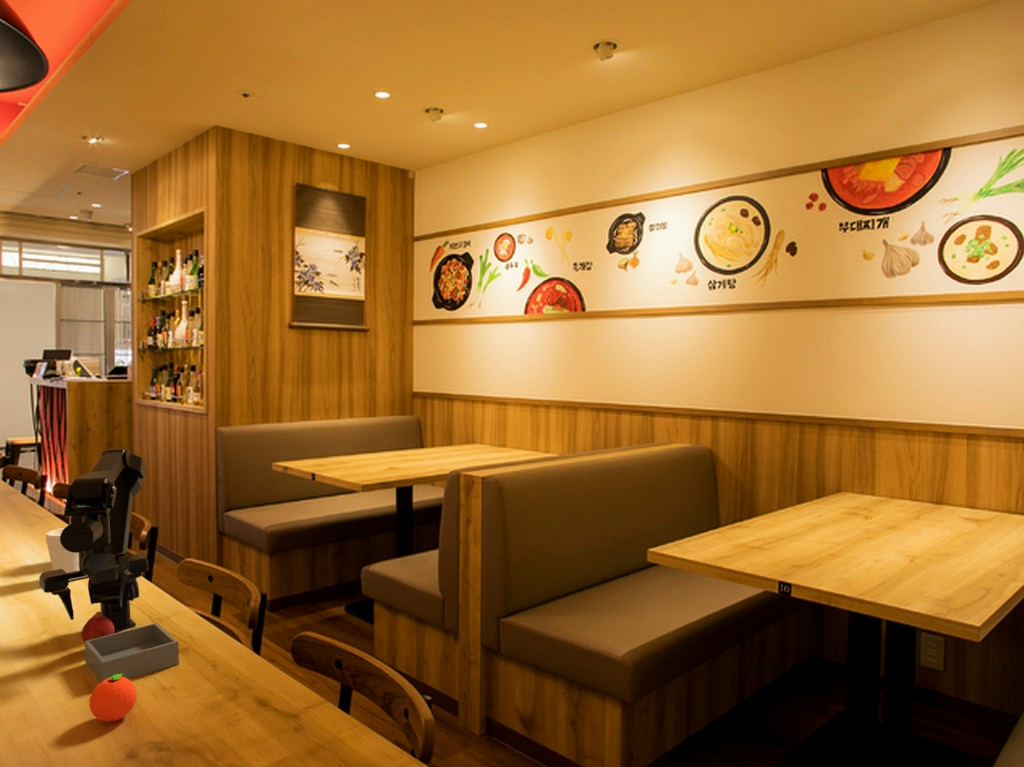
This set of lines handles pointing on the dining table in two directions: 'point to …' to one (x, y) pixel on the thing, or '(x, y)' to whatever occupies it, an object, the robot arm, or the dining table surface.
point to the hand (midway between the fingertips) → (97, 613)
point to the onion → (97, 627)
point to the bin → (131, 652)
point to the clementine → (113, 698)
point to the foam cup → (61, 553)
